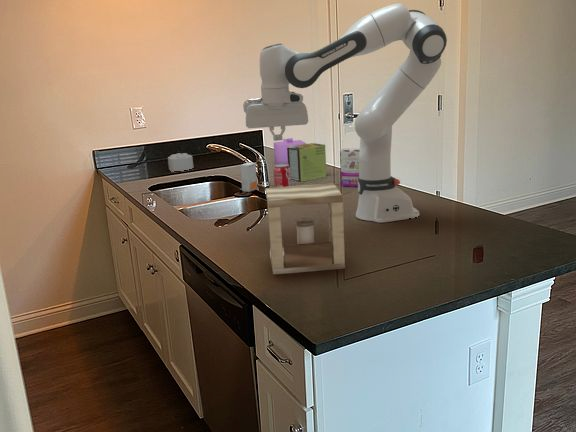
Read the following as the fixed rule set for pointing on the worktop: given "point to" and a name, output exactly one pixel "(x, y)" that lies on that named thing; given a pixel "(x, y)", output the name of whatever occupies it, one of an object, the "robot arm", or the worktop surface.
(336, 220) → the shelf
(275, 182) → the soda can
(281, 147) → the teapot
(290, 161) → the protein box
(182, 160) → the lumpy-topped squat cylinder
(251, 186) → the skincare box
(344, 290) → the worktop surface
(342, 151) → the candy bar box
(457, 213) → the worktop surface
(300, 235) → the jar
